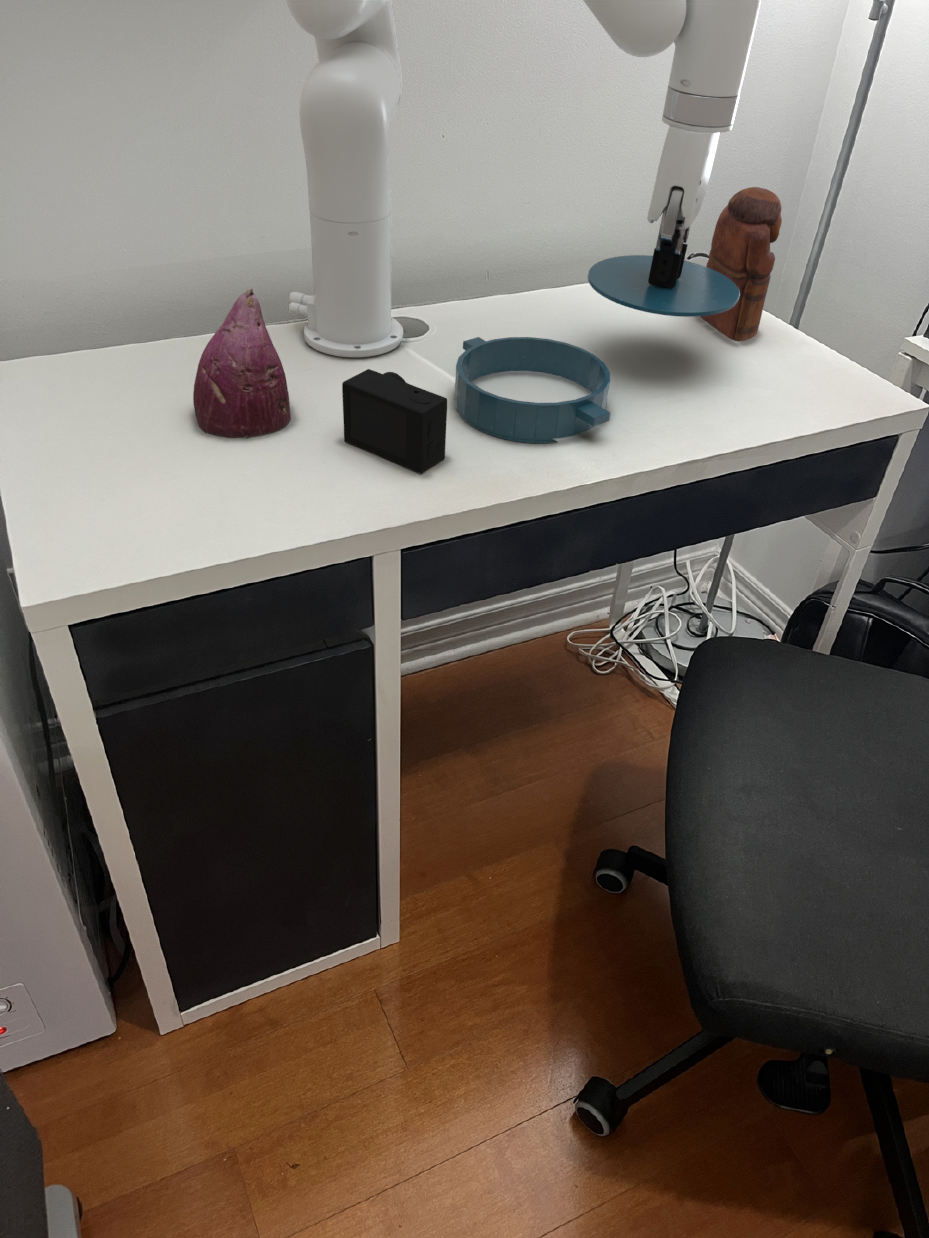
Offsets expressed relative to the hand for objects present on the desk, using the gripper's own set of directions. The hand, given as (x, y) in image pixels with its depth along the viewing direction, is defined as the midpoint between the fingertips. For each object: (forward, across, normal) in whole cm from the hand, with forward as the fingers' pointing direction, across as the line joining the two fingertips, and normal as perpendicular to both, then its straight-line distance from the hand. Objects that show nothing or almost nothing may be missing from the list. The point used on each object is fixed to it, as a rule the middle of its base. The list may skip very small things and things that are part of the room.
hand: (664, 279), depth 112 cm
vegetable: (+12, +33, -38) cm, 52 cm away
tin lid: (+1, 0, 0) cm, 1 cm away
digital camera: (+12, +32, -20) cm, 40 cm away
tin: (+11, +17, -10) cm, 23 cm away
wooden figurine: (+11, -17, +8) cm, 21 cm away
